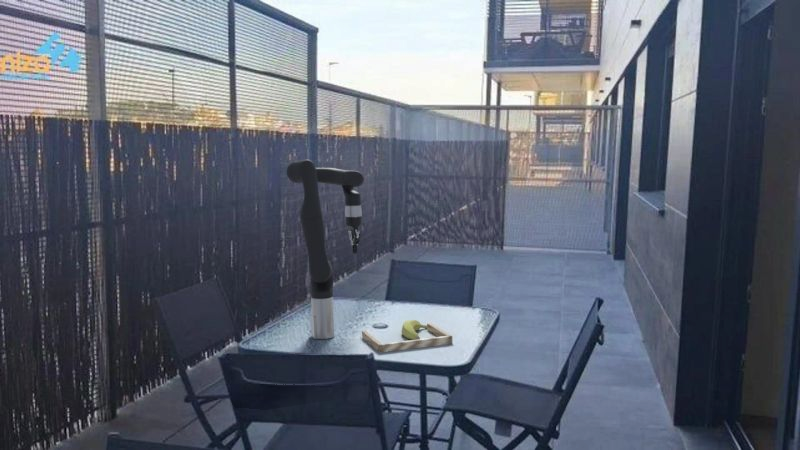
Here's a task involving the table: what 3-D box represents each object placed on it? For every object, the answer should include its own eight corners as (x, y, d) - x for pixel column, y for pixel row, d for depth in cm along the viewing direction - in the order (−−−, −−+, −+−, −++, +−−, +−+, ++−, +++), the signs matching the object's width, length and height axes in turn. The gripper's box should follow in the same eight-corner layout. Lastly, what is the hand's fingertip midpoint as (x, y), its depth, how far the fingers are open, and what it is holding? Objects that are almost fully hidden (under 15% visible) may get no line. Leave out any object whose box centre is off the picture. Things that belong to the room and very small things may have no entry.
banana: (393, 320, 291) (419, 316, 308) (390, 332, 292) (416, 327, 308) (419, 333, 284) (444, 327, 300) (415, 345, 284) (441, 339, 301)
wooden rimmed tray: (379, 352, 270) (379, 345, 269) (362, 337, 292) (361, 330, 291) (452, 343, 280) (452, 336, 280) (430, 329, 302) (430, 323, 302)
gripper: (341, 214, 318) (342, 252, 320) (349, 217, 306) (350, 255, 308) (357, 213, 321) (358, 250, 323) (365, 216, 308) (366, 254, 310)
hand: (354, 253), depth 315 cm, fingers closed
